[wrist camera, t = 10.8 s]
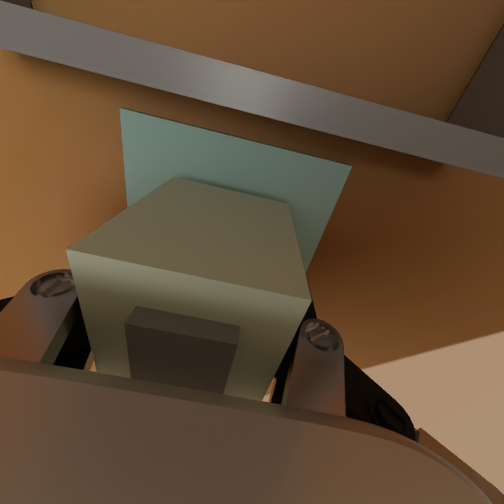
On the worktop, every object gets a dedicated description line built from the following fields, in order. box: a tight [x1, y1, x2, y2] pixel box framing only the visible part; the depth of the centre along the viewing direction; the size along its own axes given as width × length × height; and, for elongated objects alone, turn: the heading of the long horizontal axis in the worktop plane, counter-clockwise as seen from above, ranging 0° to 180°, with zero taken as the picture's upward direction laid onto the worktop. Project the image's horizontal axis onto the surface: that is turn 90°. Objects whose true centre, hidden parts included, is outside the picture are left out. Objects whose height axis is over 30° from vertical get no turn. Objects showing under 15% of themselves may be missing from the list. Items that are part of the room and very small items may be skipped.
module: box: [66, 177, 312, 401], centre depth 8 cm, size 5×6×6 cm
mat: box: [120, 108, 352, 274], centre depth 12 cm, size 10×10×1 cm
